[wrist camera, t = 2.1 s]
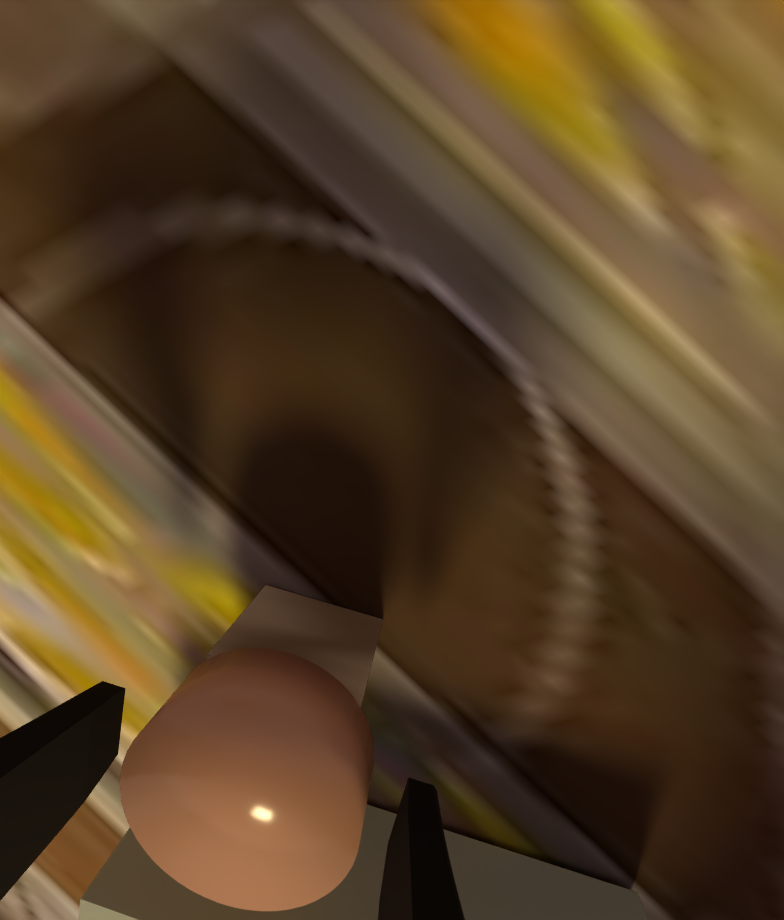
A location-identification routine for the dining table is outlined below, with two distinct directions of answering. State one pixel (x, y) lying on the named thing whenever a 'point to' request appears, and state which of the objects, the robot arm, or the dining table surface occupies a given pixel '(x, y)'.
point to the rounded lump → (252, 781)
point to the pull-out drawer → (370, 887)
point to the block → (308, 635)
